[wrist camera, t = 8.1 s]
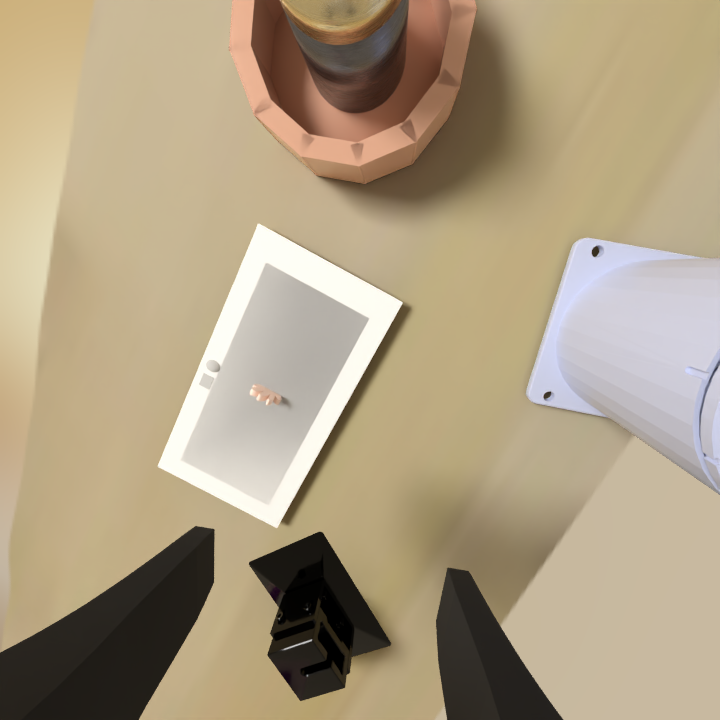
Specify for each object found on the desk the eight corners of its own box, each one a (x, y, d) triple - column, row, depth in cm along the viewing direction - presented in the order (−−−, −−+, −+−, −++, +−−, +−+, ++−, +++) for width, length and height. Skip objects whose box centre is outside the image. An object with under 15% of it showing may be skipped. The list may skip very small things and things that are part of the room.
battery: (417, 11, 14) (436, -198, 8) (392, 122, 15) (391, 17, 9) (320, -10, 14) (262, -232, 8) (301, 102, 15) (236, -18, 9)
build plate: (412, 649, 24) (416, 735, 20) (319, 678, 26) (304, 764, 21) (322, 502, 22) (304, 561, 18) (226, 542, 23) (187, 606, 19)
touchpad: (402, 300, 18) (403, 304, 16) (282, 515, 22) (270, 541, 20) (266, 226, 18) (249, 220, 16) (169, 456, 22) (145, 476, 20)
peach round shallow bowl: (481, -35, 14) (503, -111, 12) (431, 196, 17) (440, 181, 14) (271, -65, 15) (241, -147, 12) (251, 164, 17) (222, 143, 14)
